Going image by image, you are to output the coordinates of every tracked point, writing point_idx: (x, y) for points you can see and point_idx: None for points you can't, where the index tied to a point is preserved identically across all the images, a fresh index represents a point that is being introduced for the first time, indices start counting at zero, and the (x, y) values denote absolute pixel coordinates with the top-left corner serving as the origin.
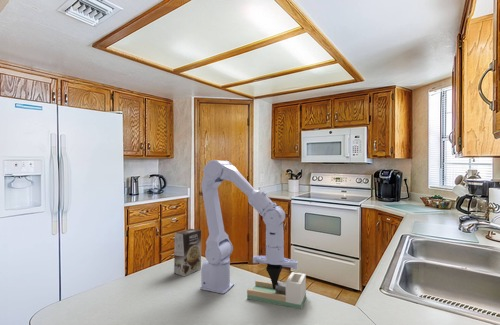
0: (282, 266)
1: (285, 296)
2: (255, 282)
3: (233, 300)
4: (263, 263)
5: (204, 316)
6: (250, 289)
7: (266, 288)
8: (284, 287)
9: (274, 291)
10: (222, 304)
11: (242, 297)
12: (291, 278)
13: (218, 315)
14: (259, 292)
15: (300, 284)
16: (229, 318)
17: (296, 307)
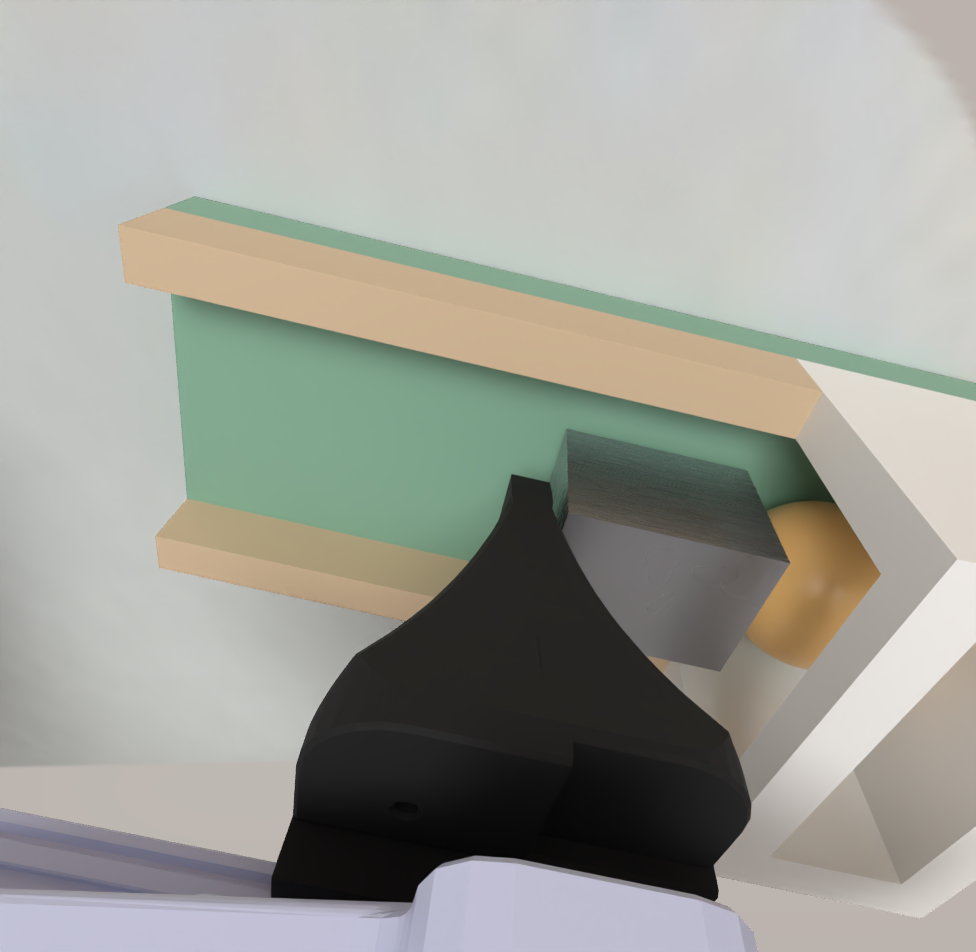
0: (707, 871)
1: (660, 667)
2: (143, 277)
3: (99, 547)
4: (146, 869)
5: (49, 736)
6: (194, 557)
7: (375, 344)
8: (667, 653)
9: (510, 422)
10: (53, 612)
11: (150, 485)
12: (831, 777)
13: (129, 725)
14: (331, 600)
15: (918, 910)
16: (221, 747)
17: None
